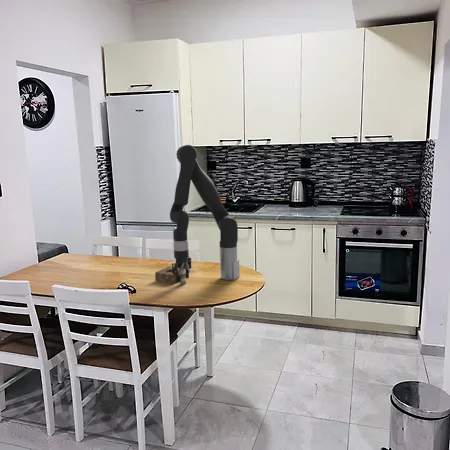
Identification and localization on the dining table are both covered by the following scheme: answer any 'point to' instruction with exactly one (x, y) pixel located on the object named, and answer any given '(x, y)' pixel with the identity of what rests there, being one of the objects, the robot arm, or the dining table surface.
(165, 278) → the socket block
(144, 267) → the dining table surface
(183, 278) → the peg
